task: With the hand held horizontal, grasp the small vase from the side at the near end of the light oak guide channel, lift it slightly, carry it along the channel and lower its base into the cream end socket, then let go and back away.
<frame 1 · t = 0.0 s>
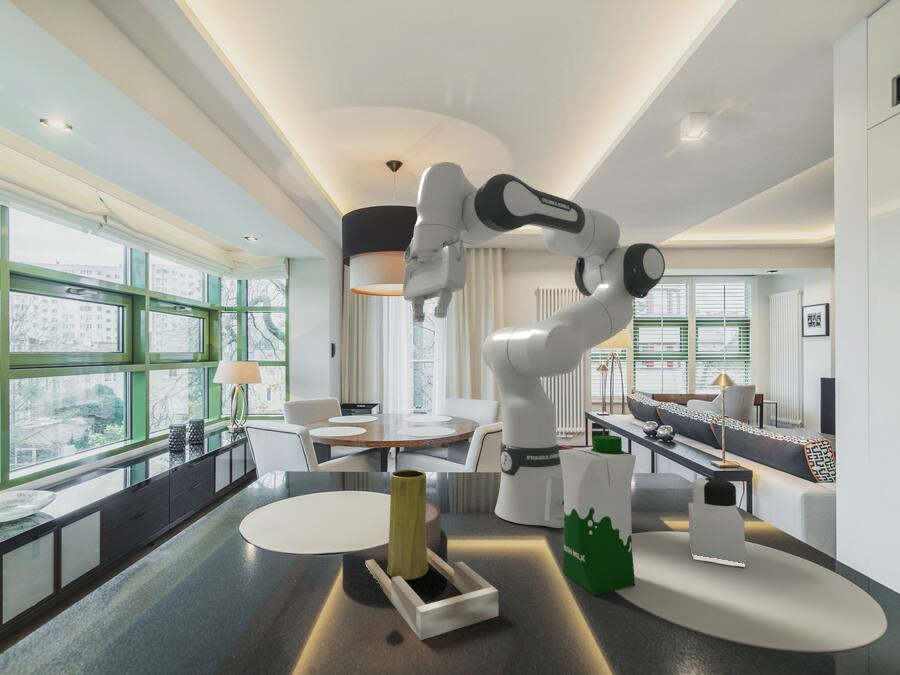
hand: (428, 319, 84), 39 cm above the countertop, tool pointing down, fingers open, 8 cm apart
milk carton: (597, 581, 64), on the countertop
guide: (421, 585, 62), on the countertop
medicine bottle: (716, 557, 72), on the countertop
vase: (407, 572, 67), on the countertop
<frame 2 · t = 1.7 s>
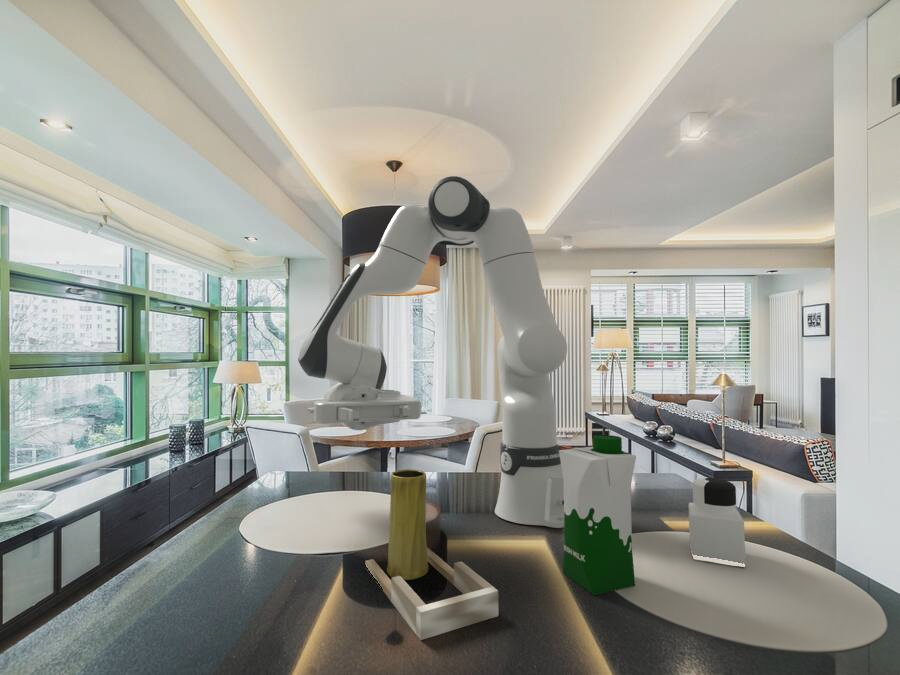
hand: (381, 414, 79), 22 cm above the countertop, tool horizontal, fingers open, 8 cm apart
nothing on the countertop moved.
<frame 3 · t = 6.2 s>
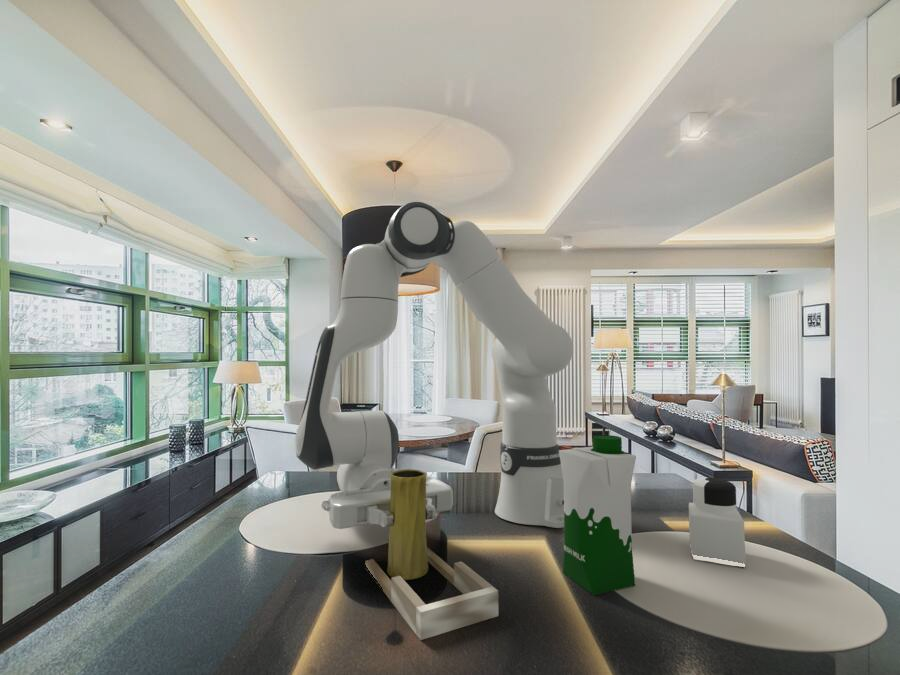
hand: (410, 517, 66), 8 cm above the countertop, tool horizontal, fingers closed on vase, 5 cm apart
vase: (407, 572, 67), on the countertop, touching gripper
everything else where it was.
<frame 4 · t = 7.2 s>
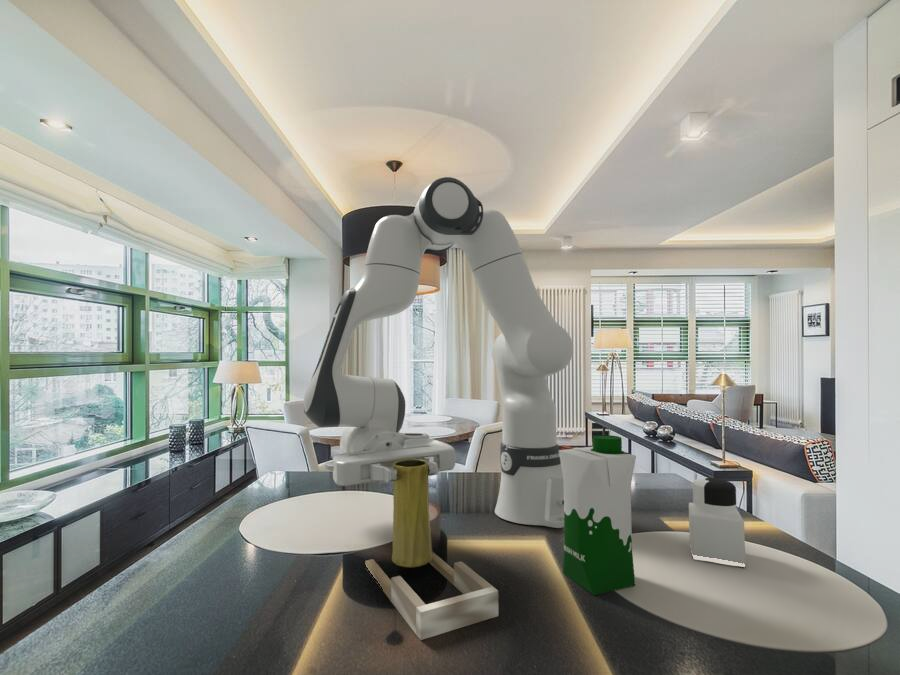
hand: (413, 473, 67), 14 cm above the countertop, tool horizontal, fingers closed on vase, 5 cm apart
vase: (412, 559, 68), point 1 cm above the countertop, touching gripper
everything else where it was.
when the fingers open (17 cm above the countertop, at t = 8.2 s): vase drops 3 cm, on the countertop.
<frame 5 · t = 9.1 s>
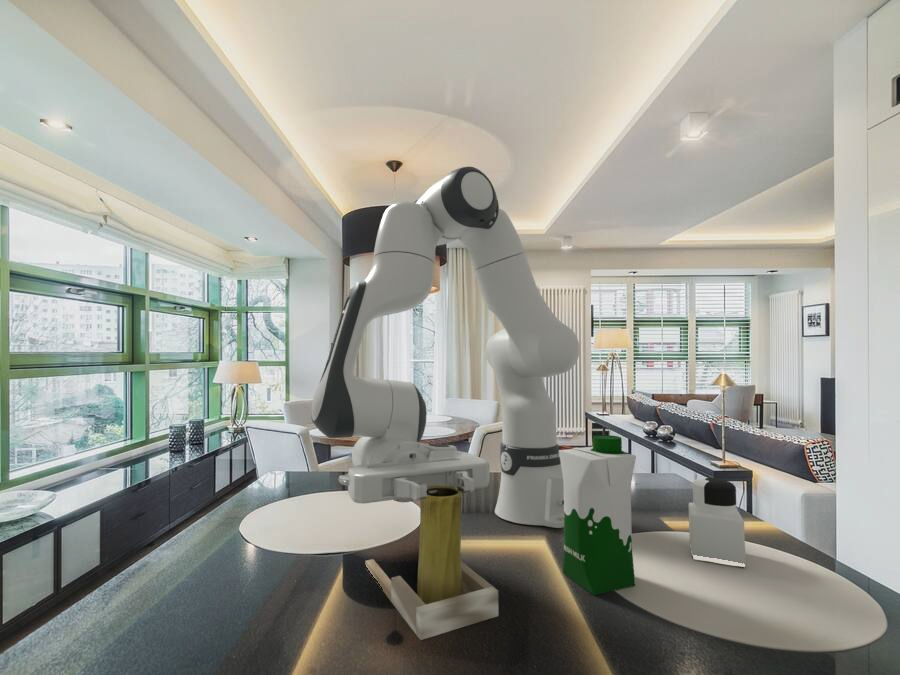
hand: (446, 489, 56), 15 cm above the countertop, tool horizontal, fingers open, 5 cm apart
vase: (439, 606, 58), on the countertop, touching gripper
everything else where it was.
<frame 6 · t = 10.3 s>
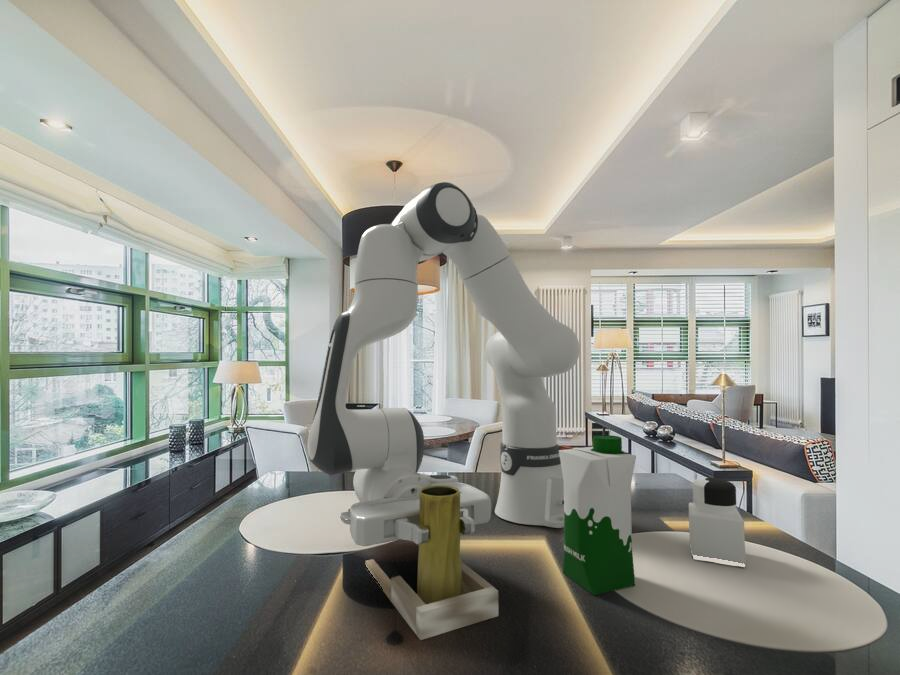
hand: (447, 532, 56), 10 cm above the countertop, tool horizontal, fingers closed on vase, 5 cm apart
vase: (439, 605, 58), on the countertop, touching gripper
everything else where it was.
when the fingers open (10 cm above the countertop, at t = 10.7 s): vase stays where it is, on the countertop.
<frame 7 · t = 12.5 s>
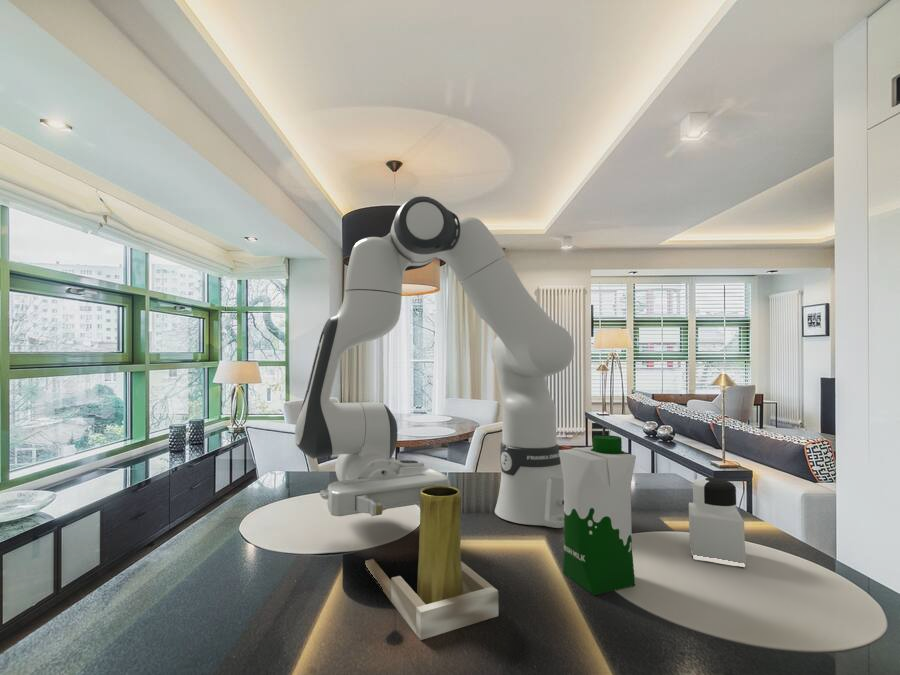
hand: (407, 505, 67), 10 cm above the countertop, tool horizontal, fingers open, 8 cm apart
vase: (439, 605, 58), on the countertop
everything else where it was.
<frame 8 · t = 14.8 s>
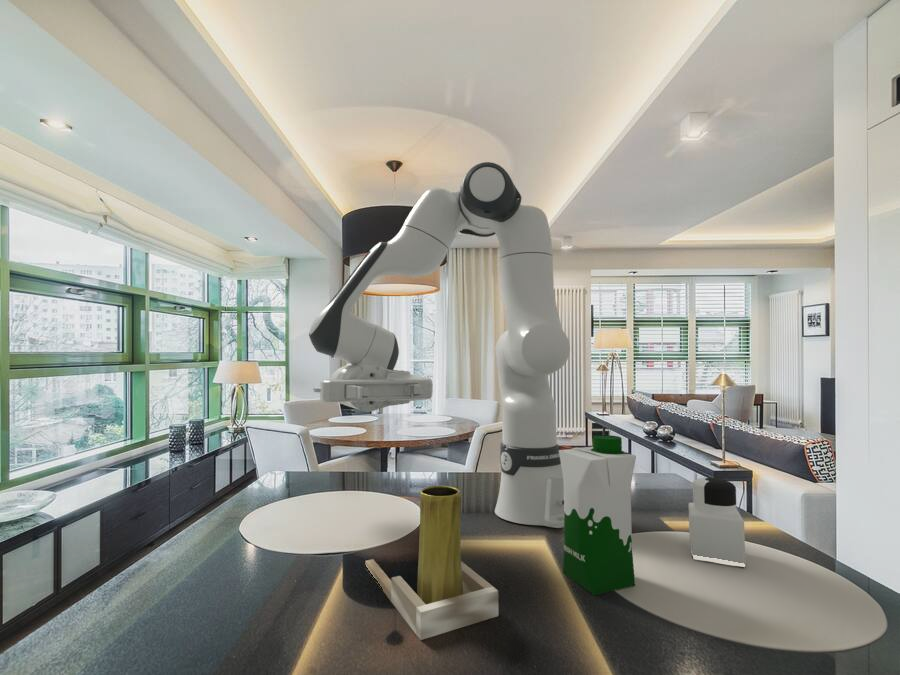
hand: (392, 392, 75), 26 cm above the countertop, tool horizontal, fingers open, 8 cm apart
nothing on the countertop moved.
at the end: vase 1.1 cm from the target spot on the guide, point 0.0 cm above the guide's base; vase tilted 0°; the gripper is holding nothing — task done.
